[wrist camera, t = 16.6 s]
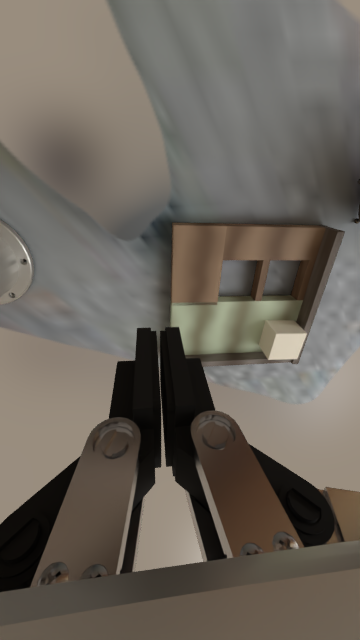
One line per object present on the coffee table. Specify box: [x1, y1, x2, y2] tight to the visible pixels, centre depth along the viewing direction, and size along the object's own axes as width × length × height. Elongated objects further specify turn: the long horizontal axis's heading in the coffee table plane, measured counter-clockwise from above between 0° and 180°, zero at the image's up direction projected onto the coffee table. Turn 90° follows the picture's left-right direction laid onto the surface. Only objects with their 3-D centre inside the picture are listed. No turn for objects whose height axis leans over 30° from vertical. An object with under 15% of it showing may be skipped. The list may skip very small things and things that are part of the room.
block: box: [259, 320, 307, 360], centre depth 41 cm, size 5×5×4 cm
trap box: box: [170, 223, 345, 367], centre depth 38 cm, size 22×22×4 cm
